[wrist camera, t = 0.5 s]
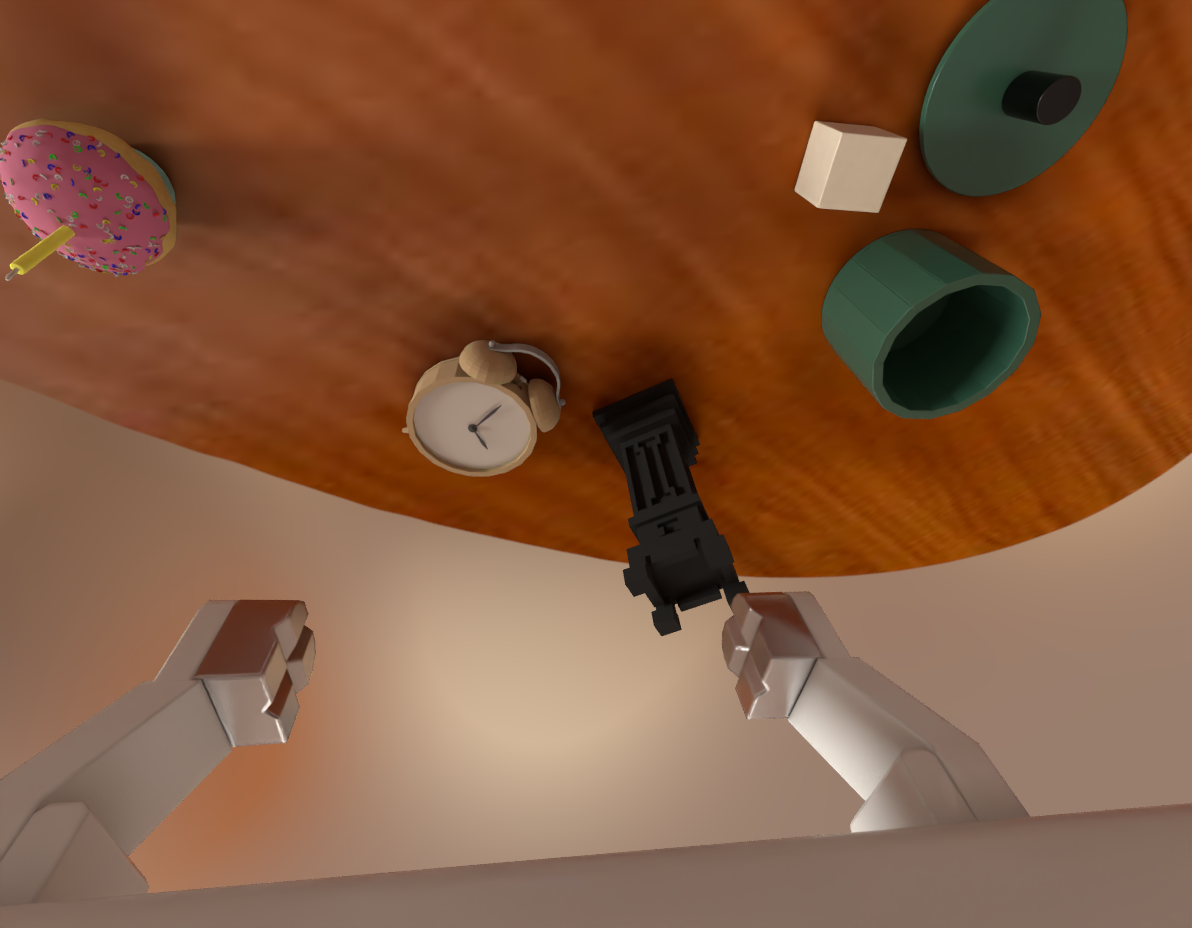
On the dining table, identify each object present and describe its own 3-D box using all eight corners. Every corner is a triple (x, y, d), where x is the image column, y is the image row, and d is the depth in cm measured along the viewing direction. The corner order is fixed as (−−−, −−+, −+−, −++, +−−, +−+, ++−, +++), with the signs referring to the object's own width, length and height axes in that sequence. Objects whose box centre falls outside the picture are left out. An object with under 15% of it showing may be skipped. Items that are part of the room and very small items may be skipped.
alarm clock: (377, 430, 48) (488, 333, 40) (394, 394, 51) (499, 298, 43) (479, 495, 54) (592, 421, 46) (488, 458, 57) (595, 384, 49)
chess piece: (698, 440, 55) (760, 607, 40) (624, 469, 57) (658, 640, 42) (672, 378, 50) (732, 542, 35) (592, 412, 52) (617, 583, 37)
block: (814, 120, 38) (842, 132, 35) (875, 126, 39) (908, 138, 35) (793, 190, 41) (817, 208, 37) (850, 195, 41) (878, 213, 38)
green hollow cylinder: (852, 223, 43) (917, 268, 36) (987, 233, 44) (1076, 279, 37) (802, 357, 50) (848, 417, 43) (920, 362, 52) (983, 420, 44)
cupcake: (203, 266, 41) (107, 343, 32) (62, 217, 38) (-89, 286, 29) (207, 145, 36) (95, 195, 27) (46, 79, 33) (-140, 109, 24)
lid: (974, -47, 33) (1027, -52, 30) (1158, -20, 35) (1230, -23, 31) (884, 185, 41) (917, 203, 38) (1037, 198, 43) (1083, 216, 39)
